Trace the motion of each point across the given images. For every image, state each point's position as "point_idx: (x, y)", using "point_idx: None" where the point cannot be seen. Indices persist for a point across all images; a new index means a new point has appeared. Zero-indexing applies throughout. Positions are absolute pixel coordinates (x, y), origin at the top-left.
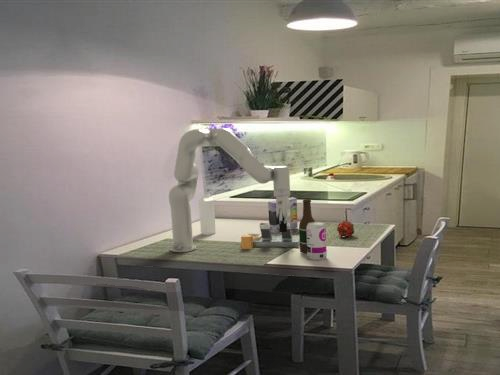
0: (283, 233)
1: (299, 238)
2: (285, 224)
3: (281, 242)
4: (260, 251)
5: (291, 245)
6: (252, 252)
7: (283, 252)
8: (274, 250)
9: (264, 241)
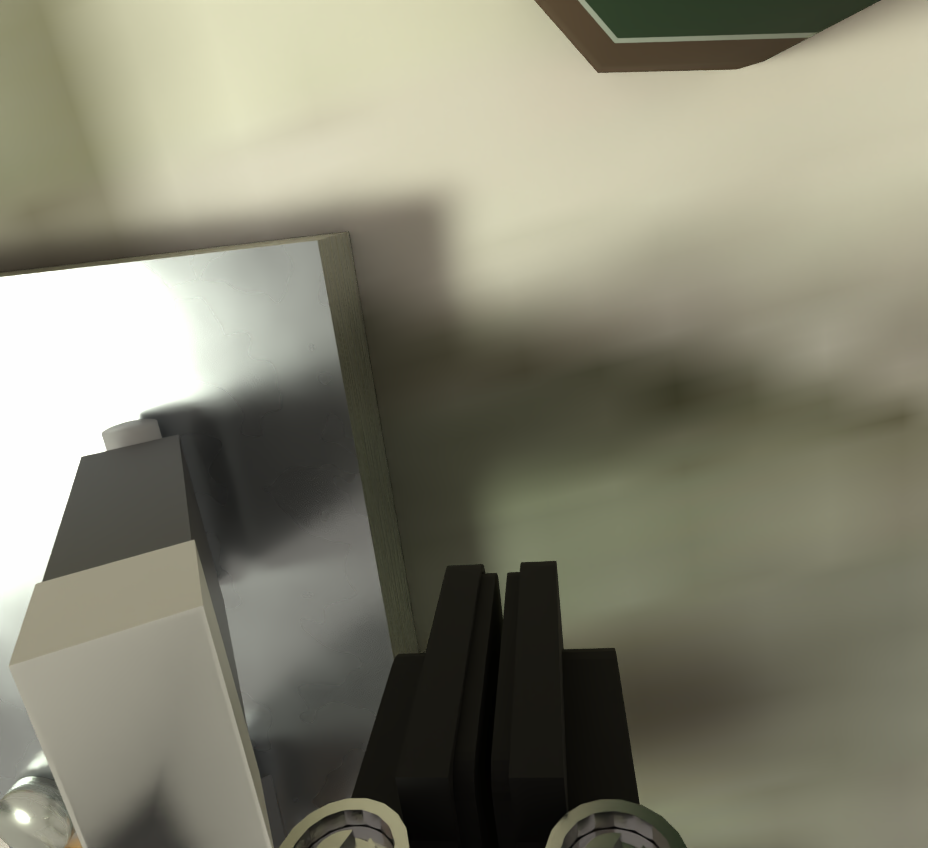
0: (225, 631)
1: (866, 6)
2: (568, 771)
3: (380, 556)
4: (721, 741)
5: (360, 361)
6: (789, 822)
7: (764, 397)
8: (637, 570)
9: None
